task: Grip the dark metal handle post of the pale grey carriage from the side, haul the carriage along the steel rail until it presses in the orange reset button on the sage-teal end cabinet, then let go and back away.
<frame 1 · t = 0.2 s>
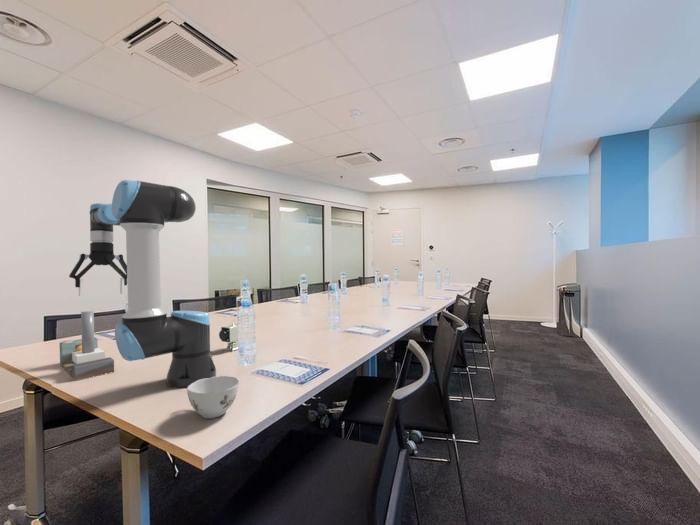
hand: (102, 294, 131), 27 cm above the table, tool pointing down, fingers open, 13 cm apart
reset button: (80, 348, 129), point 6 cm above the table, slide at 0.0 cm
pneumatic valve: (232, 350, 146), on the table
white floral bowl: (211, 413, 86), on the table
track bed: (86, 368, 123), on the table
carriage: (88, 338, 121), point 12 cm above the table, slide at 0.0 cm
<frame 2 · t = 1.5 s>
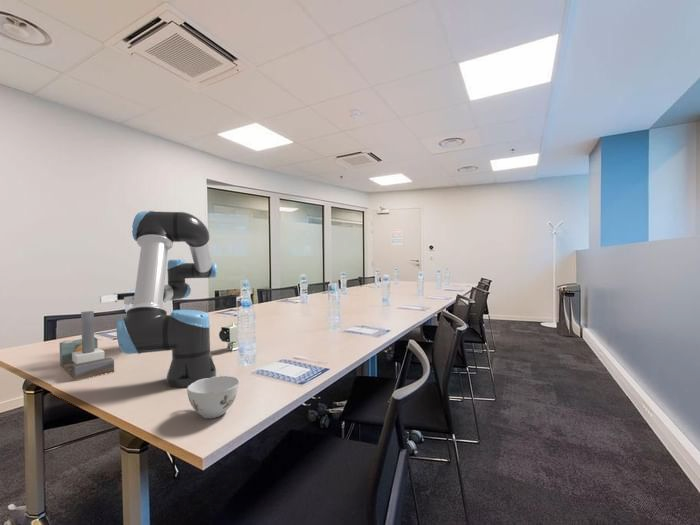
hand: (112, 300, 129), 25 cm above the table, tool horizontal, fingers open, 13 cm apart
nothing on the table moved.
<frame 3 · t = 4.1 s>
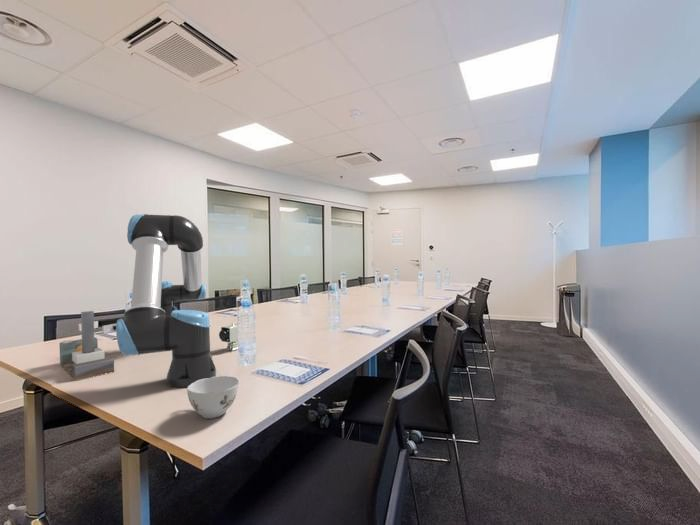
hand: (90, 328, 122), 15 cm above the table, tool horizontal, fingers open, 13 cm apart
nothing on the table moved.
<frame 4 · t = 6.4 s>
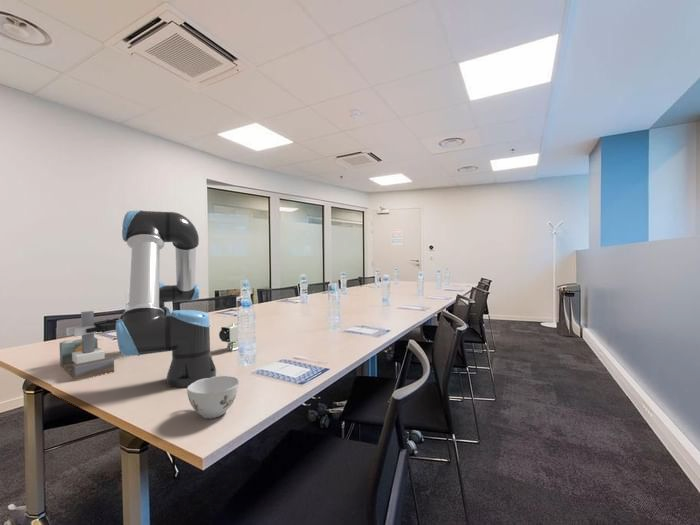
hand: (71, 332, 115), 15 cm above the table, tool horizontal, fingers closed on carriage, 4 cm apart
carriage: (88, 338, 121), point 12 cm above the table, slide at 0.0 cm, touching gripper
everything else where it was.
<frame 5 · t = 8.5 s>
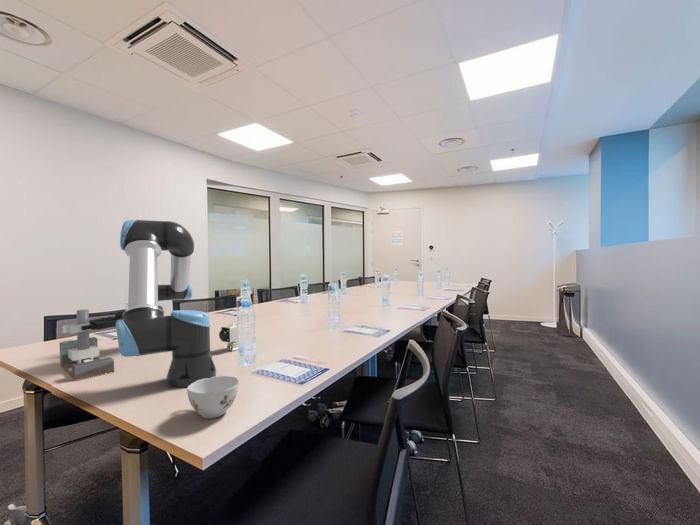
hand: (66, 329, 120), 16 cm above the table, tool horizontal, fingers closed on carriage, 4 cm apart
reset button: (79, 348, 130), point 6 cm above the table, slide at 1.8 cm, touching carriage
carriage: (83, 335, 125), point 12 cm above the table, slide at 7.3 cm, touching gripper, reset button
everything else where it was.
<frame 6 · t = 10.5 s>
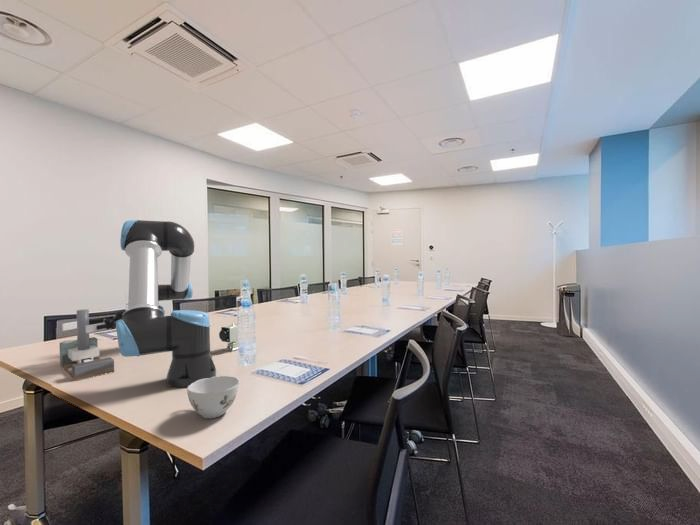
hand: (74, 328, 123), 16 cm above the table, tool horizontal, fingers open, 13 cm apart
reset button: (79, 348, 130), point 6 cm above the table, slide at 1.9 cm
carriage: (83, 335, 125), point 12 cm above the table, slide at 7.3 cm
everything else where it was.
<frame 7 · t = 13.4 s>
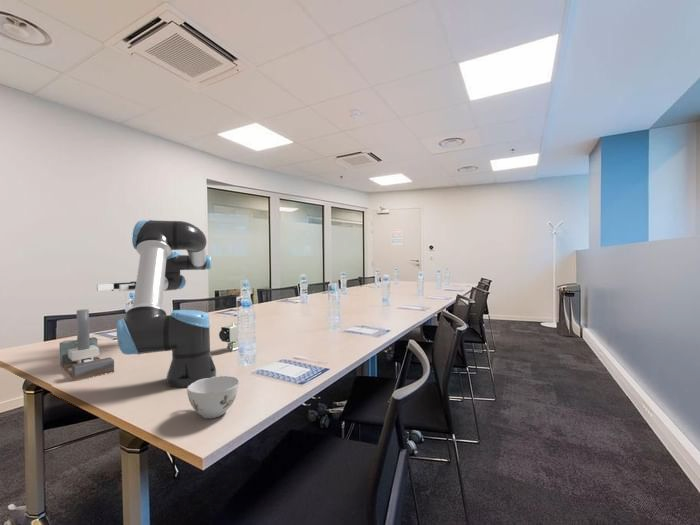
hand: (108, 287, 134), 30 cm above the table, tool horizontal, fingers open, 13 cm apart
nothing on the table moved.
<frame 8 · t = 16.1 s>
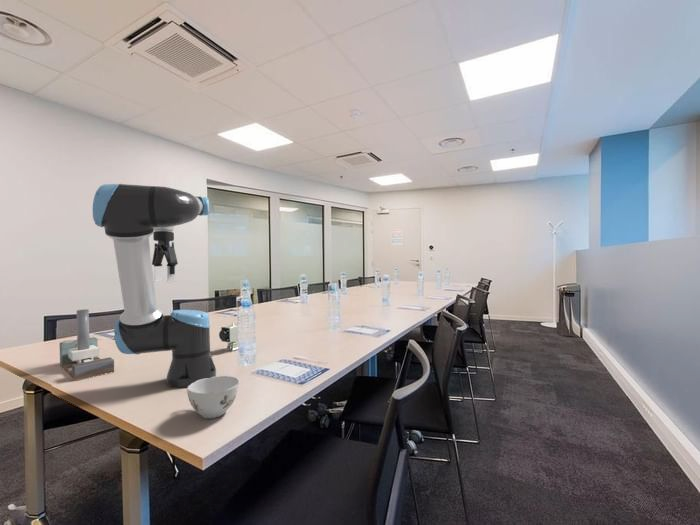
hand: (164, 281, 136), 32 cm above the table, tool pointing down, fingers open, 13 cm apart
nothing on the table moved.
at the end: carriage slide at 7.3 cm; reset button slide at 1.9 cm; the gripper is holding nothing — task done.
